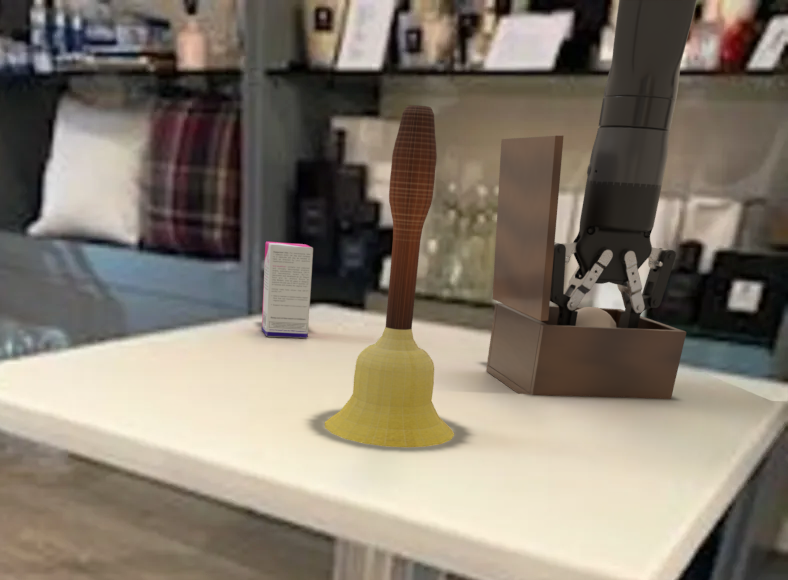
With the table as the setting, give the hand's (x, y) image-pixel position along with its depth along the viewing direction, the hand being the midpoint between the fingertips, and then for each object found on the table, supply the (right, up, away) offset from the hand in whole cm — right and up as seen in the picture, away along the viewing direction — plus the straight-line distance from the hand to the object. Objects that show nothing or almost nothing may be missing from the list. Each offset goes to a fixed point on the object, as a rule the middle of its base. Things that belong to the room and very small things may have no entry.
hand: (594, 345), depth 97 cm
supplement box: (-36, +8, +22) cm, 43 cm away
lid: (-9, +10, -7) cm, 15 cm away
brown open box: (-2, -4, +2) cm, 5 cm away
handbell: (-24, -15, -22) cm, 36 cm away
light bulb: (-1, -3, +1) cm, 3 cm away
